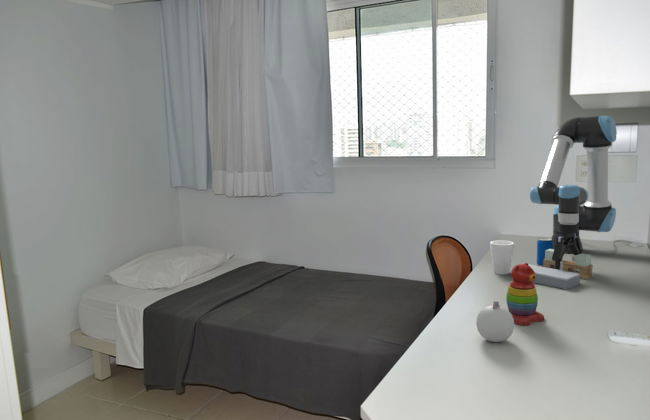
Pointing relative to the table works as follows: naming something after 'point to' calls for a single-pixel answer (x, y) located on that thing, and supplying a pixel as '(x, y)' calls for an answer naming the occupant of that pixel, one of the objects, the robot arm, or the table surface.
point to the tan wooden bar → (571, 268)
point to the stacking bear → (523, 296)
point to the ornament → (495, 323)
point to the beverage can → (543, 249)
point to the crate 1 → (549, 254)
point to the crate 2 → (583, 260)
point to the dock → (555, 277)
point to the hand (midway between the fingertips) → (566, 273)
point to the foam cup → (501, 256)
